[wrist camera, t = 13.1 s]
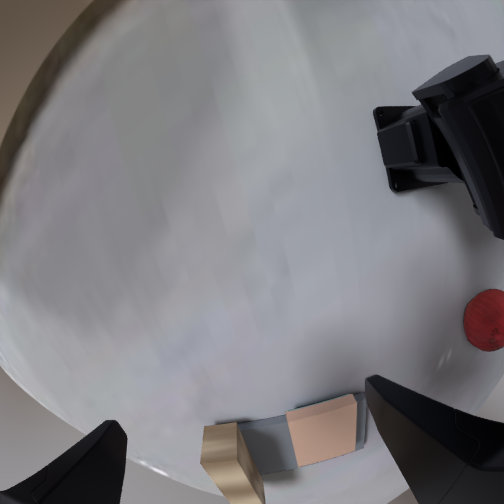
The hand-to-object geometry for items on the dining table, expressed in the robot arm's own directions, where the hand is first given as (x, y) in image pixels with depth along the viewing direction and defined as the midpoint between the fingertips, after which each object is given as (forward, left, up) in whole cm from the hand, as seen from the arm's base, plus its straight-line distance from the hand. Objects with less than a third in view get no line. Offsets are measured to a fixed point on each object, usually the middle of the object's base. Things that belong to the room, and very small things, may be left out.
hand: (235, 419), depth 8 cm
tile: (-5, +11, -10) cm, 16 cm away
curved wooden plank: (+4, +18, -11) cm, 21 cm away
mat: (-2, +17, -12) cm, 21 cm away
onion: (-22, +8, -12) cm, 26 cm away
